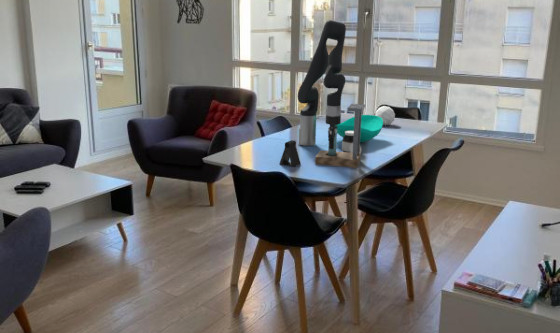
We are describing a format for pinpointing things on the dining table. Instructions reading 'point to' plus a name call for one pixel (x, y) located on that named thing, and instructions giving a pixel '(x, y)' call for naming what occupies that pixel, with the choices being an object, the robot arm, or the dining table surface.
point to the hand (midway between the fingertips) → (332, 147)
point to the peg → (333, 151)
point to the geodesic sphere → (386, 115)
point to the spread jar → (348, 142)
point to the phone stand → (290, 155)
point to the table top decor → (362, 127)
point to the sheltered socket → (345, 157)
